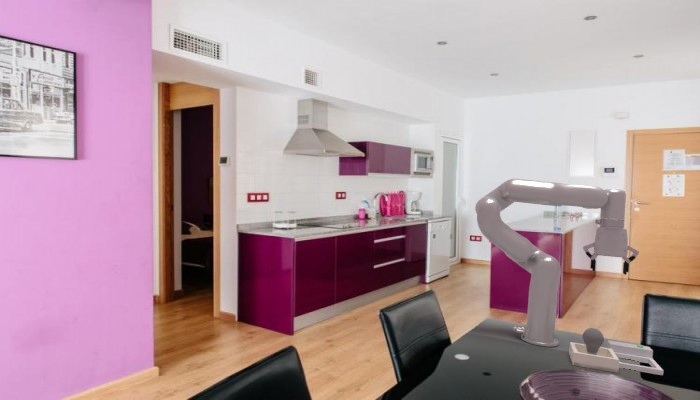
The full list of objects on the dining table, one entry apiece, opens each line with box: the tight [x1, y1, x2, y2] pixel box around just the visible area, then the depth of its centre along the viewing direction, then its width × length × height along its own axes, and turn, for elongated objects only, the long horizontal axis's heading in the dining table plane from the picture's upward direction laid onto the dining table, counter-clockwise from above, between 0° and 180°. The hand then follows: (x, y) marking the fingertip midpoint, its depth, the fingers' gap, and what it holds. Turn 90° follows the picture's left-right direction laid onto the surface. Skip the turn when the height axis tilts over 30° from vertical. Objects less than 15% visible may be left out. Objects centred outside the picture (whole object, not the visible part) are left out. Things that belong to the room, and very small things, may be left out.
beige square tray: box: [568, 341, 620, 374], centre depth 147 cm, size 12×12×4 cm
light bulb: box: [582, 327, 605, 355], centre depth 147 cm, size 6×6×10 cm
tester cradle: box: [606, 340, 664, 376], centre depth 150 cm, size 12×17×5 cm
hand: (608, 272), depth 163 cm, fingers open, 9 cm apart
